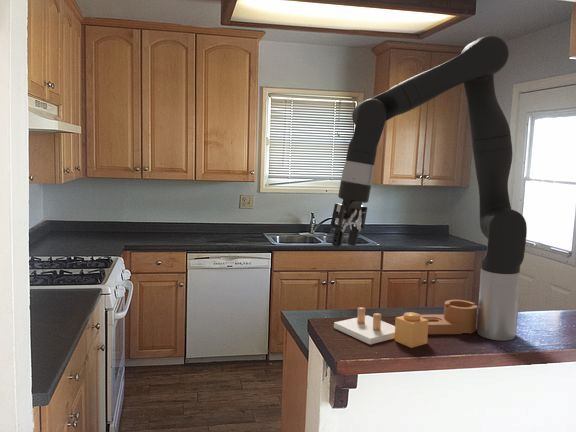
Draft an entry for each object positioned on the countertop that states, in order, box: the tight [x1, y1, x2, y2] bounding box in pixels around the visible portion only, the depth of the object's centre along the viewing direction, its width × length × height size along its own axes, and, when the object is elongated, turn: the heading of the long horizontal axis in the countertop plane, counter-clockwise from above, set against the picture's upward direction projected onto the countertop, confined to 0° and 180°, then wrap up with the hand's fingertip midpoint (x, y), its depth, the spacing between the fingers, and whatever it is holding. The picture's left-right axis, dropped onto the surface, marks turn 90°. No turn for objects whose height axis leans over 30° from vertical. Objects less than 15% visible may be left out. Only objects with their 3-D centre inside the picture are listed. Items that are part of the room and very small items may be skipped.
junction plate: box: [333, 306, 395, 345], centre depth 135 cm, size 12×14×6 cm
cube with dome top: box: [394, 311, 429, 349], centre depth 128 cm, size 6×6×7 cm
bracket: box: [420, 299, 478, 335], centre depth 138 cm, size 18×8×7 cm, turn 95°
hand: (344, 245), depth 128 cm, fingers open, 8 cm apart
